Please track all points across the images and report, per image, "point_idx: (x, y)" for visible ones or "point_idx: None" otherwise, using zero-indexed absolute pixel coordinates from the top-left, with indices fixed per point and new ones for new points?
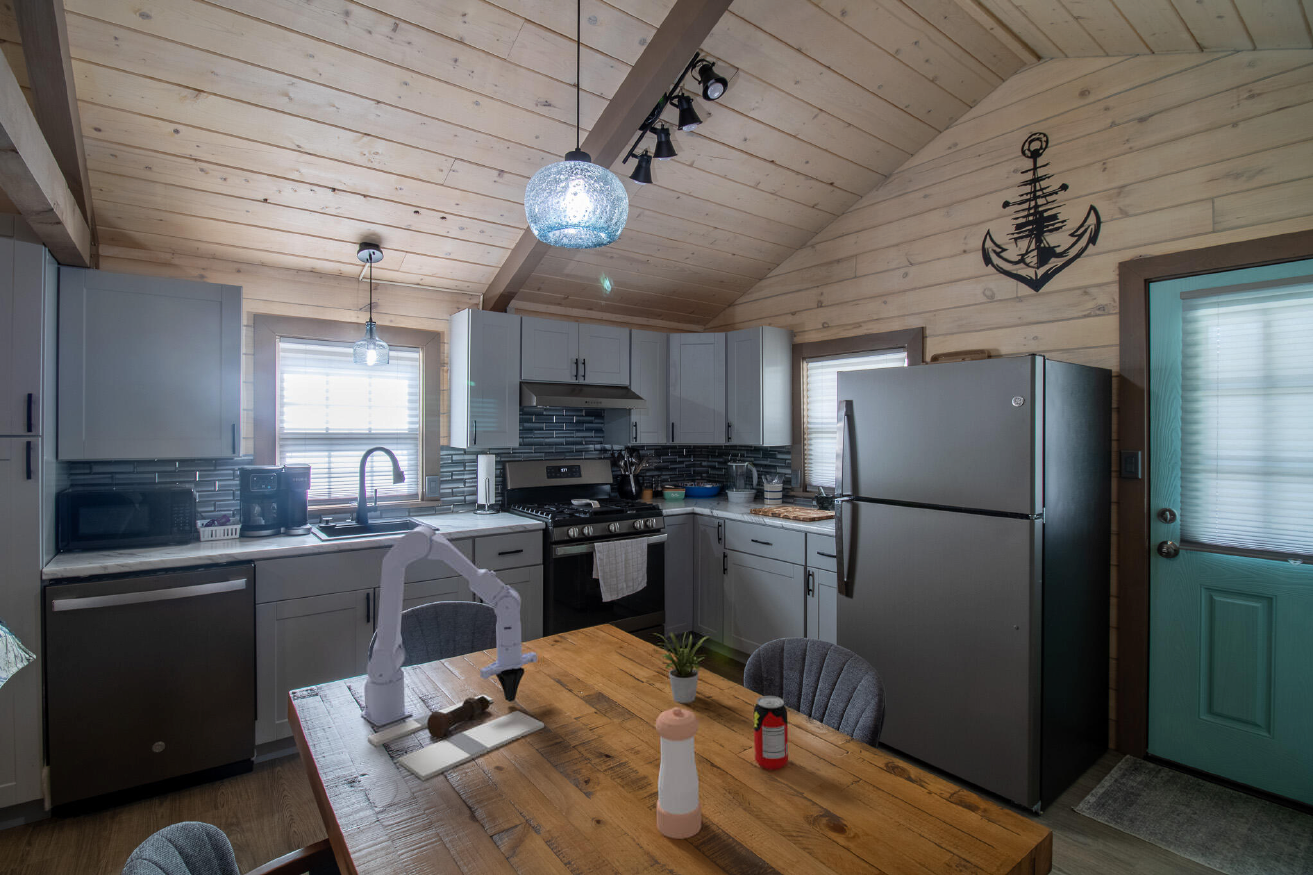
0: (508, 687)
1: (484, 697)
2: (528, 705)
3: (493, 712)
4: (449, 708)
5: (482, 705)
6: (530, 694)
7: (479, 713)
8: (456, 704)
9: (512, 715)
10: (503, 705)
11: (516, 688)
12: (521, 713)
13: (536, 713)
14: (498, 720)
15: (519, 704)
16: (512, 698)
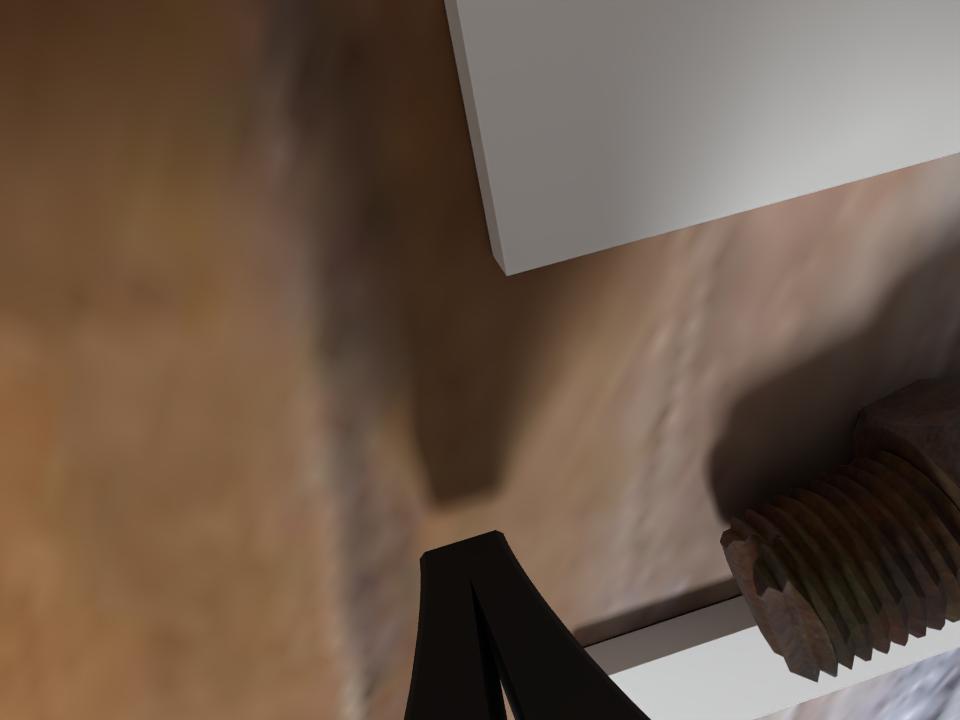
0: (645, 714)
1: (845, 636)
2: (240, 434)
3: (686, 449)
4: (940, 635)
5: (884, 514)
6: (123, 691)
7: (919, 411)
8: (860, 678)
9: (646, 142)
10: (517, 556)
11: (439, 700)
12: (498, 119)
13: (198, 80)
14: (885, 100)
15: (345, 510)
16: (479, 560)
